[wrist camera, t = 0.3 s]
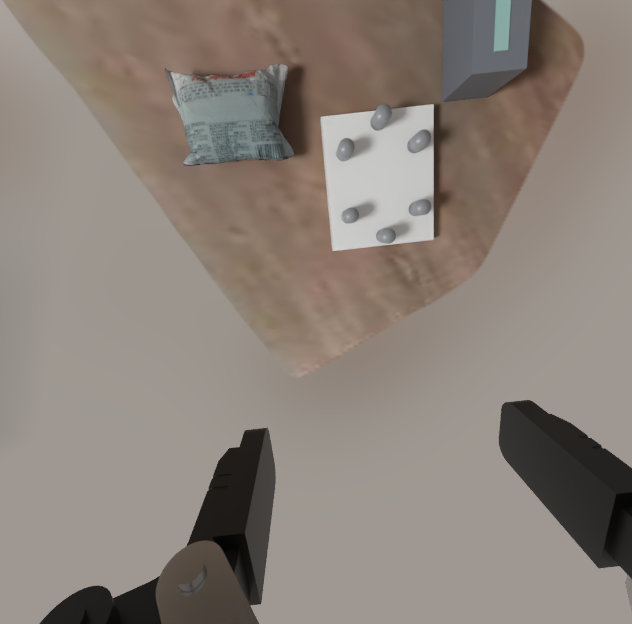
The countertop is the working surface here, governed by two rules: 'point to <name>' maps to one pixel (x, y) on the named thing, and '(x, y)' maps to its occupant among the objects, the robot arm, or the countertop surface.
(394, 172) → the pegged holder plate
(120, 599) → the robot arm
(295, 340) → the countertop surface
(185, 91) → the packaged food
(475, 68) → the block
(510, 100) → the countertop surface
